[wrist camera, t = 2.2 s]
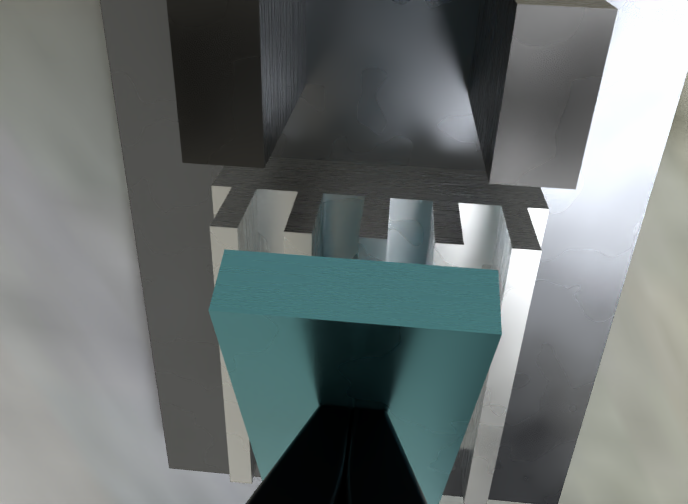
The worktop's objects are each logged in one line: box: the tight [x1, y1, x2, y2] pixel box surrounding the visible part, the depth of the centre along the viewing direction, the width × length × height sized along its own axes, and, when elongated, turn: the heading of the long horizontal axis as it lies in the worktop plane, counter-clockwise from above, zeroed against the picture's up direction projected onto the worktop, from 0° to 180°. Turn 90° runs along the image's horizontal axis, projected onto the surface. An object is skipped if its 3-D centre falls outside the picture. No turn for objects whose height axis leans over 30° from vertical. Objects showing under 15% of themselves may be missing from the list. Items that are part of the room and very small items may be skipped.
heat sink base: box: [100, 0, 688, 504], centre depth 17 cm, size 18×14×7 cm
